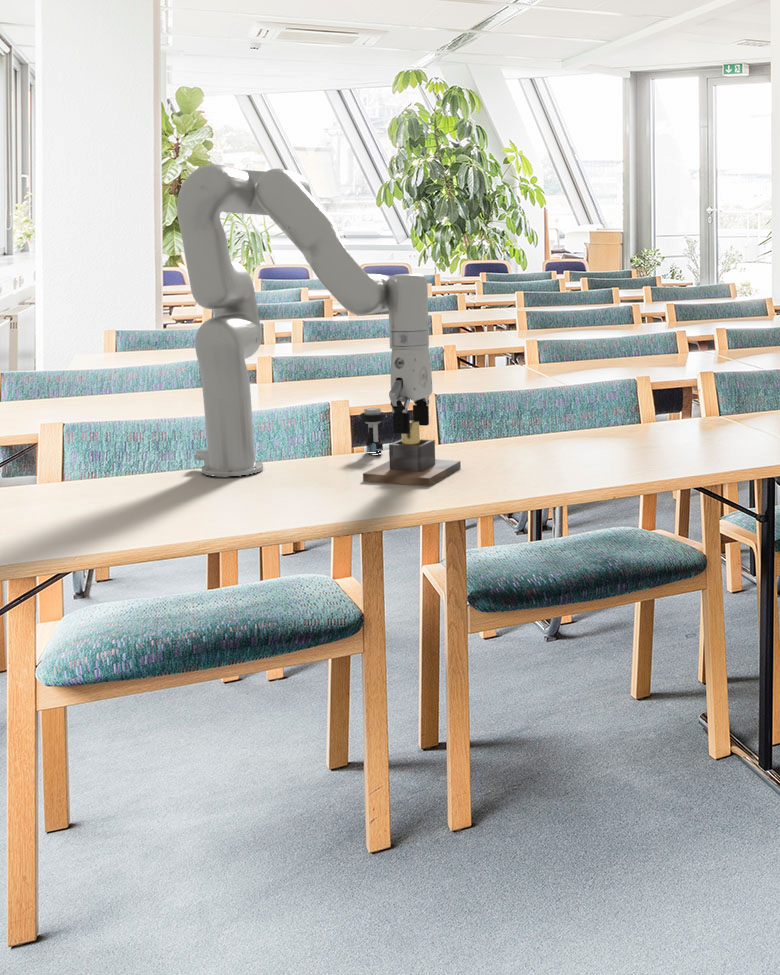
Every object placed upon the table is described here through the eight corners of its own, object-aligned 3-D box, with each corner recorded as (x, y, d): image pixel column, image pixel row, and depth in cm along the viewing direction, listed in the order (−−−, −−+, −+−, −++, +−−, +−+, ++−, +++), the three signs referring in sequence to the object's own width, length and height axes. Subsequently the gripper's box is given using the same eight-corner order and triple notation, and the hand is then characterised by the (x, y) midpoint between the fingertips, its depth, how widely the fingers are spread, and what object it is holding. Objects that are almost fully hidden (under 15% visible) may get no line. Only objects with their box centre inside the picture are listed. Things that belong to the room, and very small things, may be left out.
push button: (392, 455, 203) (390, 410, 201) (369, 458, 201) (367, 412, 199) (380, 450, 209) (379, 406, 207) (358, 453, 207) (356, 408, 205)
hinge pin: (400, 468, 184) (397, 423, 182) (407, 464, 187) (405, 420, 185) (417, 469, 182) (414, 423, 180) (424, 465, 185) (421, 420, 183)
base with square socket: (363, 480, 181) (361, 448, 179) (397, 464, 195) (396, 433, 193) (429, 486, 175) (428, 452, 173) (460, 468, 189) (460, 436, 187)
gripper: (408, 344, 169) (411, 438, 174) (444, 336, 185) (446, 422, 189) (371, 344, 173) (374, 436, 177) (409, 336, 188) (412, 421, 192)
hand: (411, 428), depth 183 cm, fingers open, 8 cm apart
